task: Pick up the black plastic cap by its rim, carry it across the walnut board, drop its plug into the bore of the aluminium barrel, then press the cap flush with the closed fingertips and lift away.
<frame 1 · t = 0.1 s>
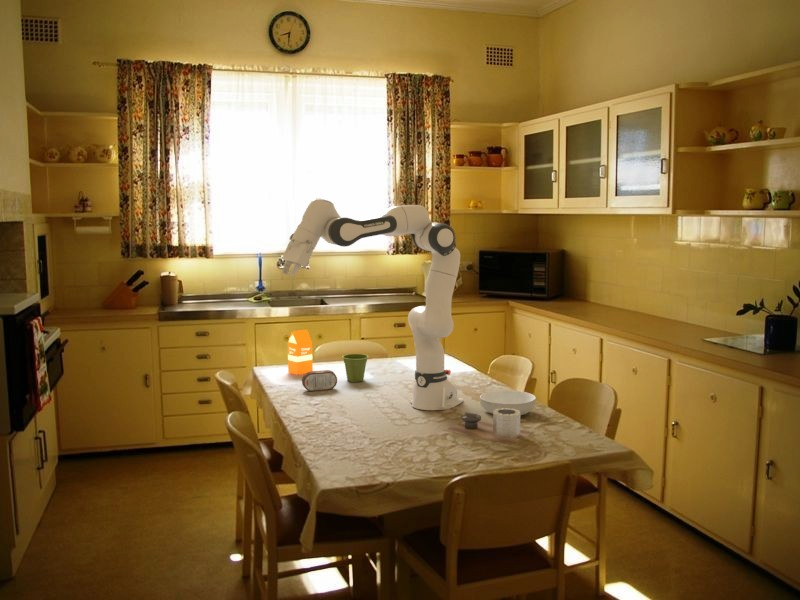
hand: (287, 274, 266), 54 cm above the table, tool tilted 30°, fingers open, 8 cm apart
tin: (320, 390, 322), on the table
serving bowl: (507, 414, 283), on the table
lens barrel: (506, 434, 253), resting on walnut board
orange juice: (300, 372, 357), on the table
plant pot: (355, 381, 339), on the table
walnut board: (488, 435, 257), on the table
lens cap: (471, 427, 261), point 1 cm above the table, touching walnut board
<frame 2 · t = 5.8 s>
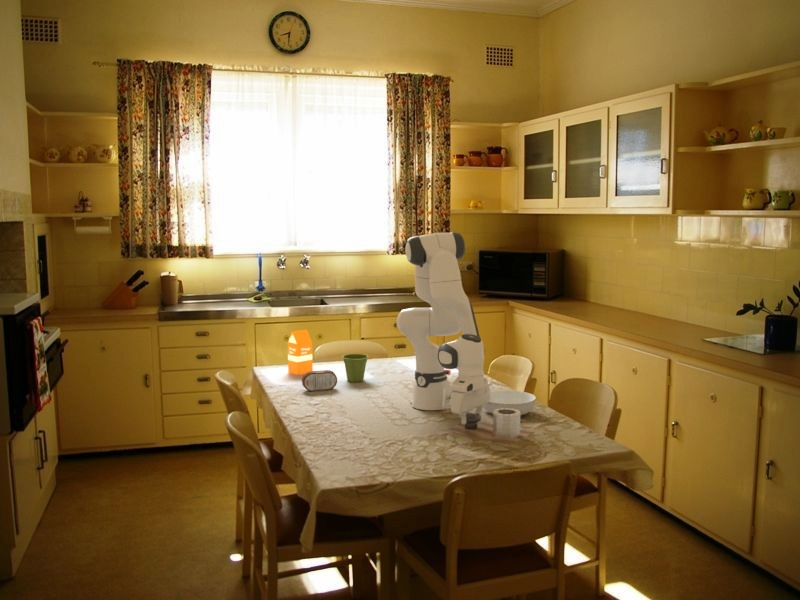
hand: (471, 420, 261), 4 cm above the table, tool pointing down, fingers closed on lens cap, 7 cm apart
lens cap: (470, 427, 261), point 1 cm above the table, touching gripper, walnut board
everything else where it was.
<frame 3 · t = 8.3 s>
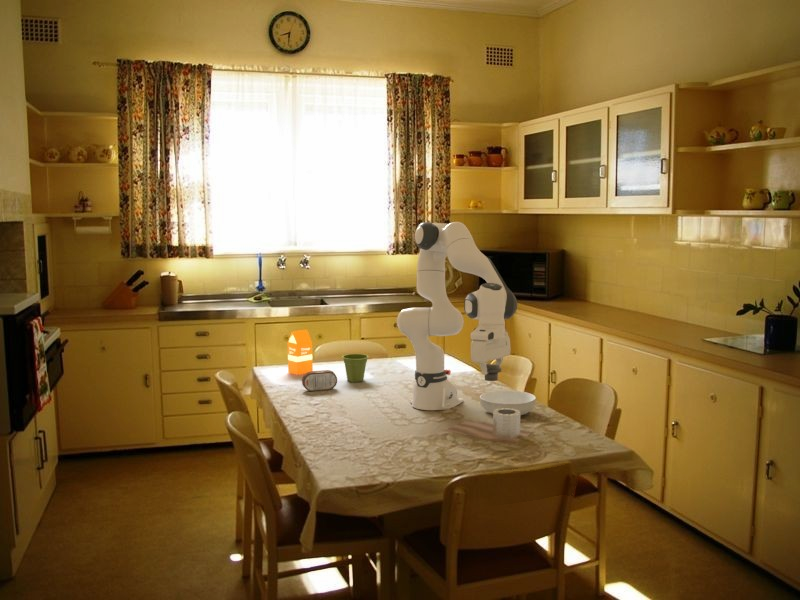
hand: (491, 372, 254), 22 cm above the table, tool pointing down, fingers closed on lens cap, 7 cm apart
lens cap: (491, 379, 254), point 20 cm above the table, touching gripper
everything else where it was.
when the fingers open (11 cm above the table, at t = 10.8 s): lens cap drops 2 cm, resting on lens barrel.
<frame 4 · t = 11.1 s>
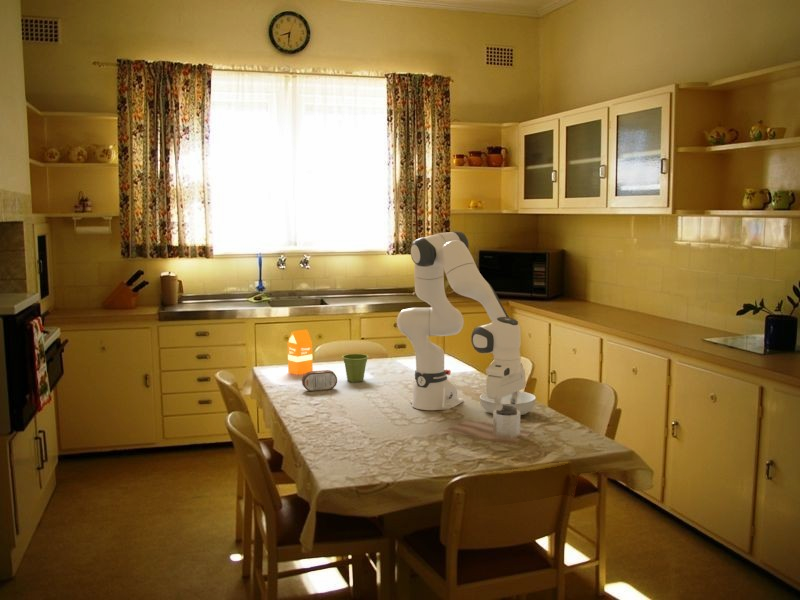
hand: (506, 406, 252), 11 cm above the table, tool pointing down, fingers open, 8 cm apart
lens cap: (506, 420, 252), point 6 cm above the table, touching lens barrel
everything else where it was.
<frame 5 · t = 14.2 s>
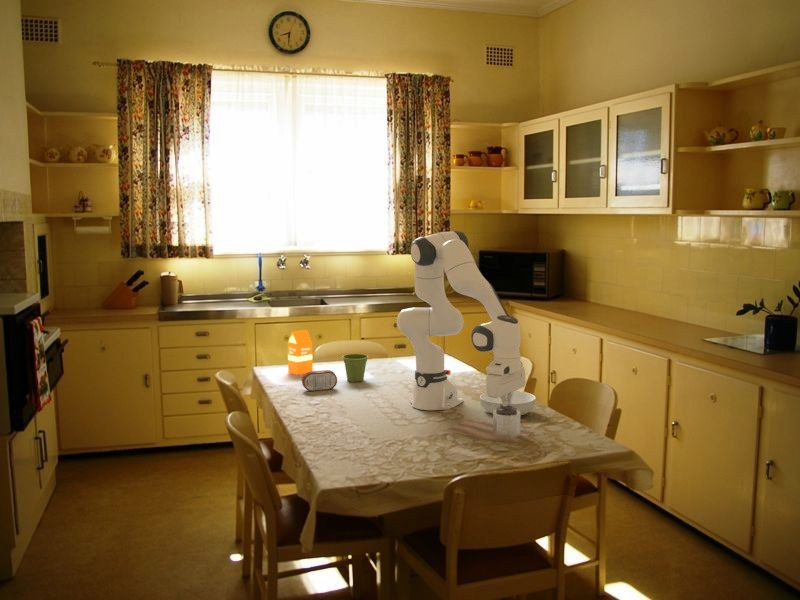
hand: (506, 405, 251), 12 cm above the table, tool pointing down, fingers closed, pressing on lens cap
lens cap: (506, 420, 252), point 6 cm above the table, touching gripper, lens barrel
everything else where it was.
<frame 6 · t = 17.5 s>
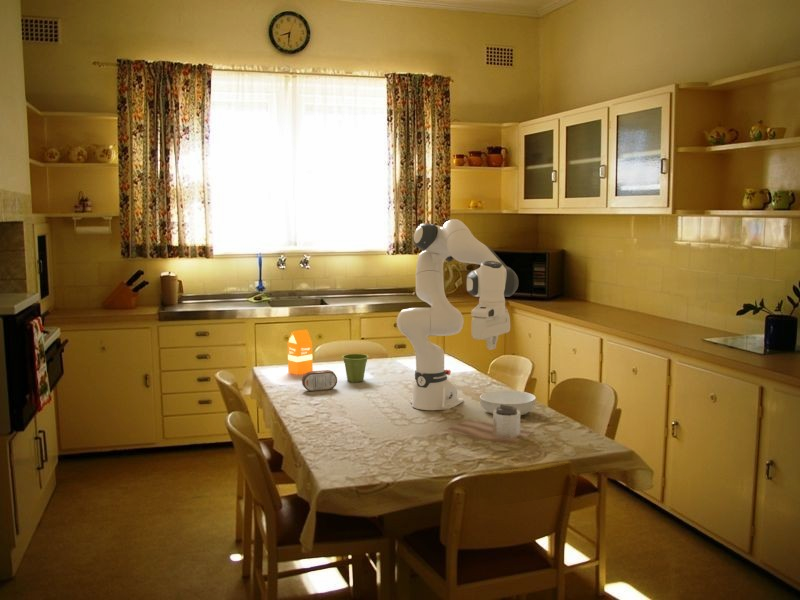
hand: (491, 348, 259), 29 cm above the table, tool pointing down, fingers closed
lens cap: (506, 420, 252), point 6 cm above the table, touching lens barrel
everything else where it was.
at the end: lens cap 0.0 cm off-centre on the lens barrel, point 5.0 cm above the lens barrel's base; lens cap tilted 0°; the gripper is holding nothing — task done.
